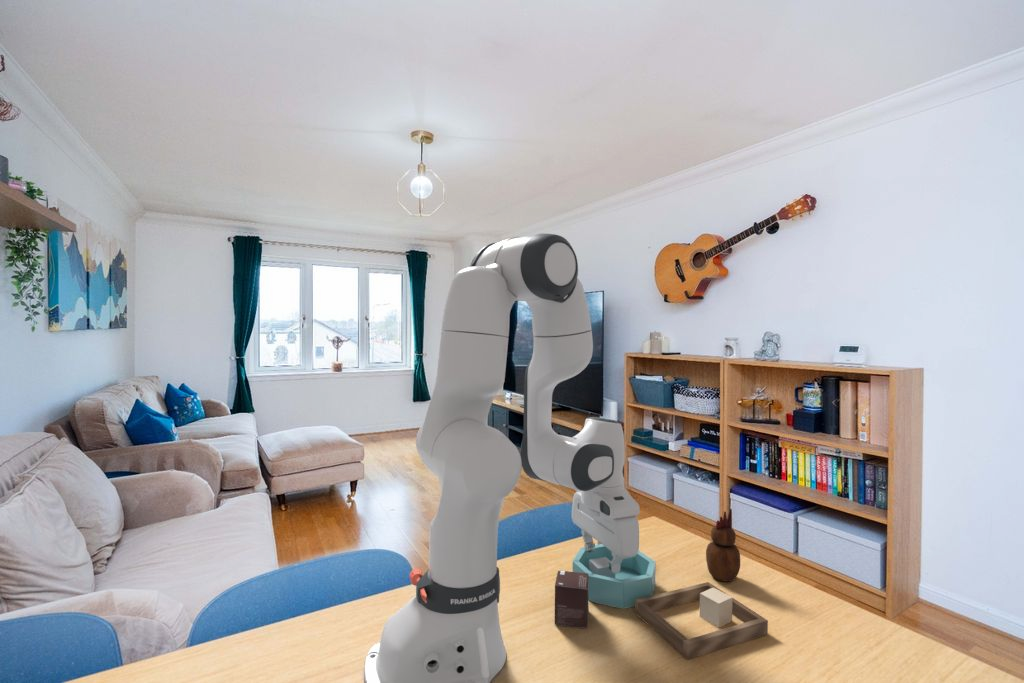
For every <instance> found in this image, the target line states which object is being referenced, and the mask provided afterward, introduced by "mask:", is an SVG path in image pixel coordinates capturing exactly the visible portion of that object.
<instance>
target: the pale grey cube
mask: <svg viewBox="0 0 1024 683" xmlns="http://www.w3.org/2000/svg"><path fill="white" fill-rule="evenodd" d="M609 561H610V560H609V559H608V558H606V557H603V558H596V559H590V560H589V571H591V572H592V573H593V574H597V575H602V576H606V577H611V578H615V573H613V572H612V571H611V570H610V569H609Z"/></svg>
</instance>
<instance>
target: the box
mask: <svg viewBox="0 0 1024 683" xmlns="http://www.w3.org/2000/svg"><path fill="white" fill-rule="evenodd" d="M588 583H589V574H588V573H580V572H573V571H567V570H557V573H556V578H555V584H554V625H557V626H563V627H564V626H565V627H571V628H580V629H587V628H588V623H589V601H588V600H589V599H588V597H589V596H588Z"/></svg>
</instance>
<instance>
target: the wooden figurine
mask: <svg viewBox="0 0 1024 683" xmlns="http://www.w3.org/2000/svg"><path fill="white" fill-rule="evenodd" d="M732 516H733V511H732V508H730V509H729V511H728V515H727V512H726V511H723V517H722V516H719V520H716V523H715V525H714V526H712V528H711V531H710V537H711V541H710V542H709V543H708V544H707V546H706V550H705V558H706V565H707V570H708V571H709V574H710V575H711V577H712V578H713V579H715V580H717V581H721V582H731V581H734V580H735V579H736V578H737V576H738V574H739V572H740V569H741V553H740V550H739V548H738V547H737V545H736V544H735V543H736V537H737V536H736V535H737V534H736V531H735V530H734V529H733V525H732V524H733V517H732Z"/></svg>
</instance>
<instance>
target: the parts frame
mask: <svg viewBox="0 0 1024 683" xmlns="http://www.w3.org/2000/svg"><path fill="white" fill-rule="evenodd" d="M711 588H715V589H717V590H719V591H721V592H723V593H725V594H727V595H729V594H728V593H726V592H725V591H723V590H721V589H720V588H718V587H717V586H715V585H714V584H712V583H710V582H709V581H707V582H703V583H699V584H693V585H691V586H690V585H689V586H686V587H682V588H677V589H674V590H670V591H666V592H662V593H657V594H653V596H649V597H644V598H640V599H636V600H635V606H634V613H635V614H636V615H637V616H638V617H639V618H640V619H641V620H642V621H644V623H646V624H647V625H648V626H649V627H650V628H652V630H654V631H655V632H656V633H657V634H658V635H659V636H660V637H661V638H663V639H664V640H665V641H666V642H667V643H668V644H669V645H670V646H672V647H673V648H674V649H675V650H677V651H678V653H680V654H681V655H682V656H683V657H684V658H685V659H686V660H688V661H689V660H690V659H693V658H696V657H697V658H698V657H700V656H702V655H706V654H710V653H713V652H716V651H719V650H722V649H724V648H729V647H731V646H735V645H738V644H742V643H744V642H748V641H750V640H754V639H757V638H760V637H764V636H767V635H768V634H769V633H768V632H769V631H768V630H769V629H768V628H769V624H768V623H769V621H768V619H767V618H765V617H763V615H760V614H759V613H756V611H754V610H752V609H751V608H749V607H747V605H744V604H743V603H741V602H740V601H739V600H737V599H735V598H734V597H732V616H734V617H735V618H737V619H739V620H740V621H741V622H742V623H739V624H735V625H731V626H728V627H725V628H722V629H717V630H716V631H712V632H708V633H706V634H702V635H698V636H695V637H691V638H688V637H686V636H685V635H684V634H682V633H681V632H680V631H679V630H678V629H676V628H675V626H673V625H672V624H670V622H669V621H668V620H665V619H664V618H663V617H662V616H661V615H660V614H658V613H657V612H658V611H662V610H666V609H668V608H672V607H677V606H681V605H685V604H689V603H692V602H696V601H700V593H702V592H704V591H706V590H708V589H711Z"/></svg>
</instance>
